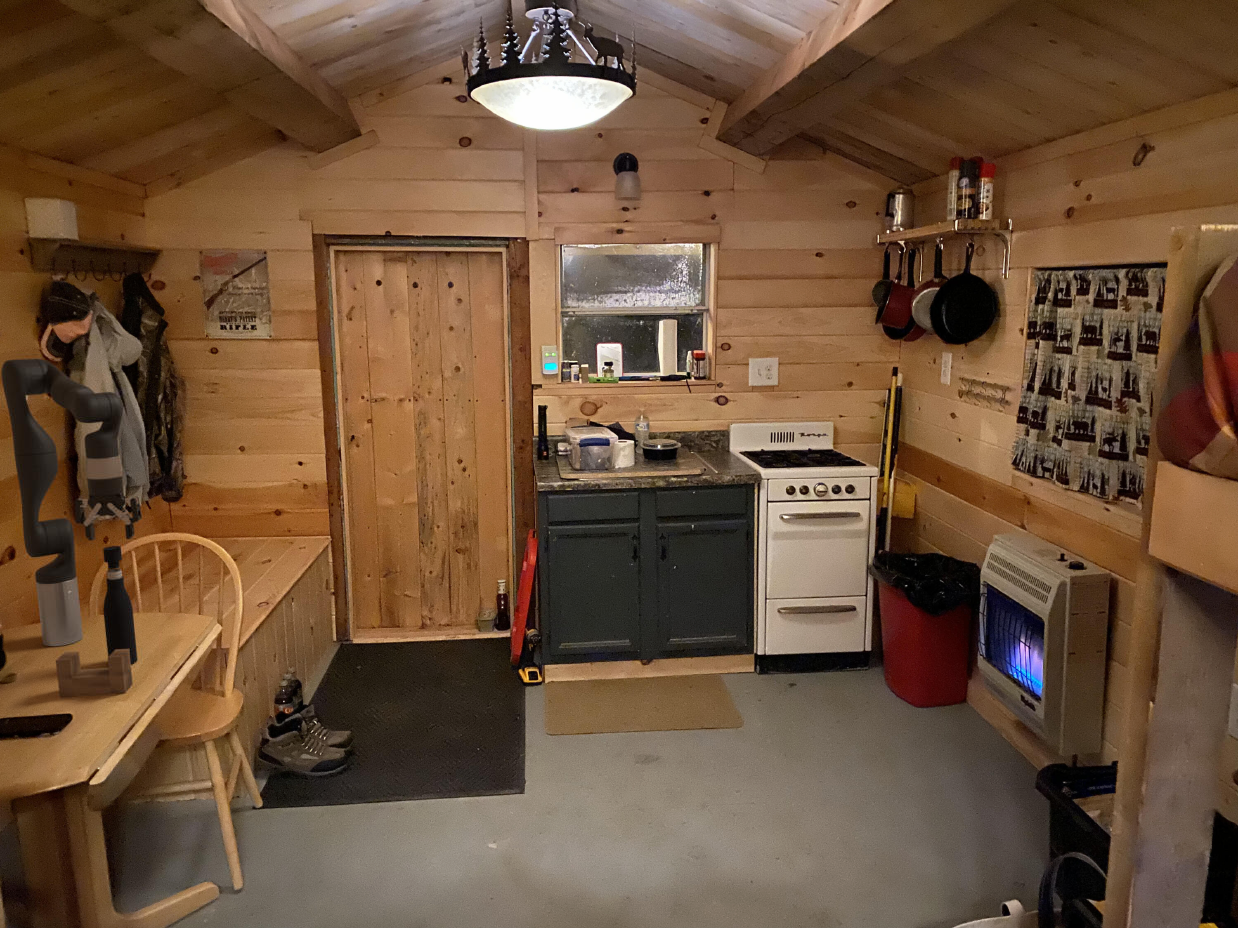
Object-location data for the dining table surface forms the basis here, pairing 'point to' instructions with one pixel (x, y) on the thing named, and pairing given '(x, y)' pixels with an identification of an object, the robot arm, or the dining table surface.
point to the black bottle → (118, 607)
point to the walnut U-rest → (94, 675)
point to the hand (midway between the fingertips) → (110, 539)
